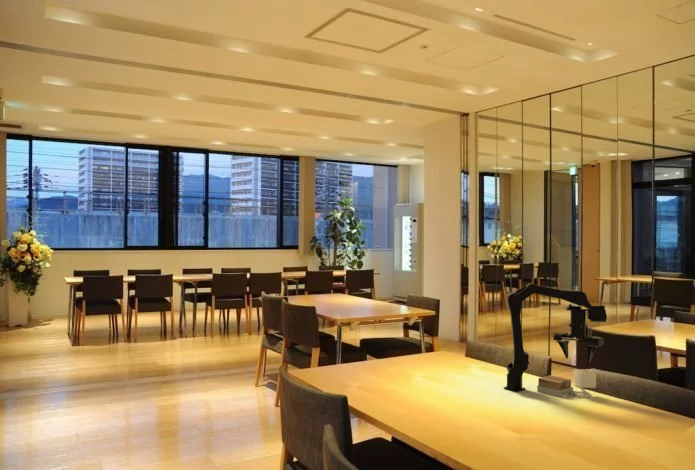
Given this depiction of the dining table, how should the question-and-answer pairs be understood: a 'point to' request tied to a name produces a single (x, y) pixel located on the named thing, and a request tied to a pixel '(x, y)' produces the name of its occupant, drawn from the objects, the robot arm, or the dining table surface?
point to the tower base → (555, 391)
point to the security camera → (584, 381)
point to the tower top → (554, 382)
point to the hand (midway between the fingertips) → (578, 360)
